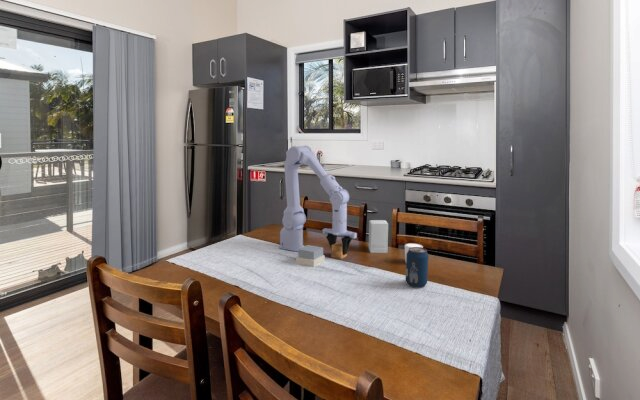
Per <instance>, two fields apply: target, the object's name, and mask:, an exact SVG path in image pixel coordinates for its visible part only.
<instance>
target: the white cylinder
mask: <svg viewBox="0 0 640 400" xmlns="http://www.w3.org/2000/svg"><path fill="white" fill-rule="evenodd" d="M411 247H421V248H424V246H423V245H422V244H420V243H415V242H414V243H412V242H411V243H410V242H409V243H405V244H404V260H405V264H406V258H407V252H408V251H409V248H411Z"/></svg>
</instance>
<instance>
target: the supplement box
mask: <svg viewBox="0 0 640 400" xmlns="http://www.w3.org/2000/svg"><path fill="white" fill-rule="evenodd" d="M388 239H389V223H388V221H387V220H384V219H371V220H369V221H368V246H367V247H368V251H369V253H370V254H388V247H389V246H388V244H389V240H388Z"/></svg>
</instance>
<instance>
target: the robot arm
mask: <svg viewBox="0 0 640 400" xmlns="http://www.w3.org/2000/svg"><path fill="white" fill-rule="evenodd" d="M285 155H286V157H285V158H286V159H285V161H284V164H283V165H284V167H283V168H284V178H285V179H284V181H285V193H286V208H285V209H284V210H283V217H282V221H281V222H282V226H283V227H282V228H281V229H280V232H279V242H280V243H279V247H278V248H279V249H281V250H286V251H287V250H289V251H292V252H298V249H300V248H302V247H304V246H305V245H304V237H303V235H304V231H303V229H304V224H305V223H306V221H307V216H306V214H305V211H304V208H303V206H301V200H300V197H301V196H300V187H299V186H300V185H299V183H300V182H299V172H298V171H299V168H300V167H301V166H302V165H306V166H308V167H309V168H310V169H311V170H312V172H313V173H314V174H315V175H316V176H317V177H318V178H319V180H320V181H319V183H320V186H321V187H322V189H324V191H325V192H326V194H328V196H329V203H330V204H331V208H332V209H331V210H332V215H331V216H332V217H331V218H332V220H331V221H332V223H331V226H332V227H331V228H327V227H325V228H323V229H322V234H323V235H326V237H325V238H326V240H327V242H328V244H329V247H330V250H331V252H332V245H333V244H335V243H337V237H338V236H340V237H342V238H340V239H341V243H342V245H343V255H345V254H347V255H348V250H349V247H350V243H351V241H352V240H353V239H357V237H358V233H357V232H355V231H351V230H348V229H347V226H348V225H347V224H348V222H347V221H348V217H347V216H348V207H347V206H348V202H349V201H350V193H349V191H348V190H347V189H345V188H343V187H342V186H341V185H340V184H339V183H338V181H337V180H336V177H335V176H334V175H332V174H328V173H327V172H326V170H325V169H324V167H323V166H322V164H321V163H320V161H319V160H318V158H317V157H316V154H315V152H314V150H312V148H311V147H310V146H309V145H300V146H298V145H297V146H296V145H293V146H291V147H290V148H288V149H287V151H286V152H285Z"/></svg>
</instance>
